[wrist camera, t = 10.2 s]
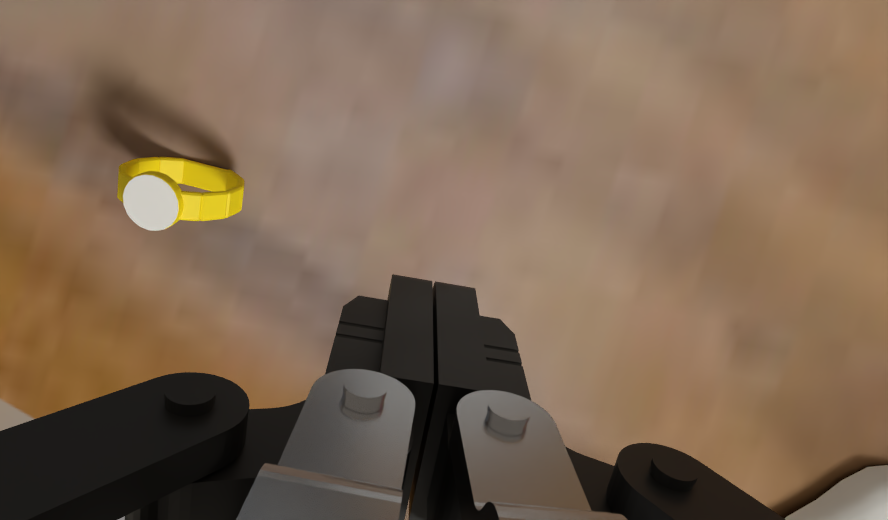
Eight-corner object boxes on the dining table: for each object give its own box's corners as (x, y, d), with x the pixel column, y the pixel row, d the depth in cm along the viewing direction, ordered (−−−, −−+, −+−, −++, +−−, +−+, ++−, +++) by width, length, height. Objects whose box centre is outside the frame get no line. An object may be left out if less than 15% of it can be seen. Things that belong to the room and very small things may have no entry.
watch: (261, 163, 38) (219, 190, 32) (255, 211, 39) (213, 246, 33) (152, 138, 38) (91, 160, 32) (149, 186, 39) (90, 217, 33)
